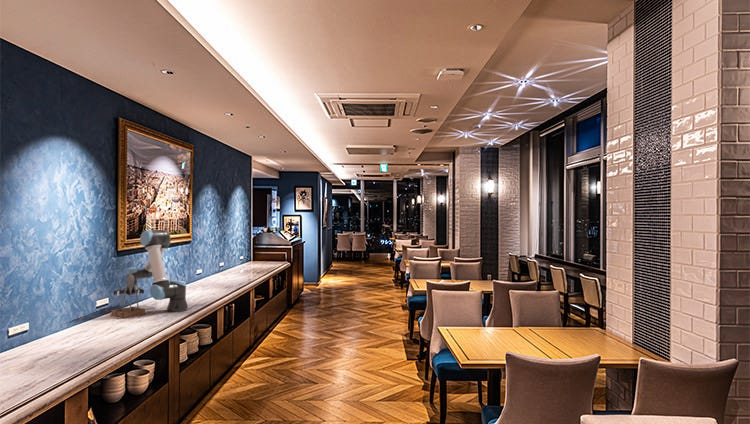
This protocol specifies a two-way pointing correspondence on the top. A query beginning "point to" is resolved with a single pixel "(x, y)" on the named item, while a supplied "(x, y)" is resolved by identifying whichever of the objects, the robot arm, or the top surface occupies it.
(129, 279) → the citrus juicer
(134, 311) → the holder frame
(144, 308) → the slate tile
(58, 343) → the top surface
